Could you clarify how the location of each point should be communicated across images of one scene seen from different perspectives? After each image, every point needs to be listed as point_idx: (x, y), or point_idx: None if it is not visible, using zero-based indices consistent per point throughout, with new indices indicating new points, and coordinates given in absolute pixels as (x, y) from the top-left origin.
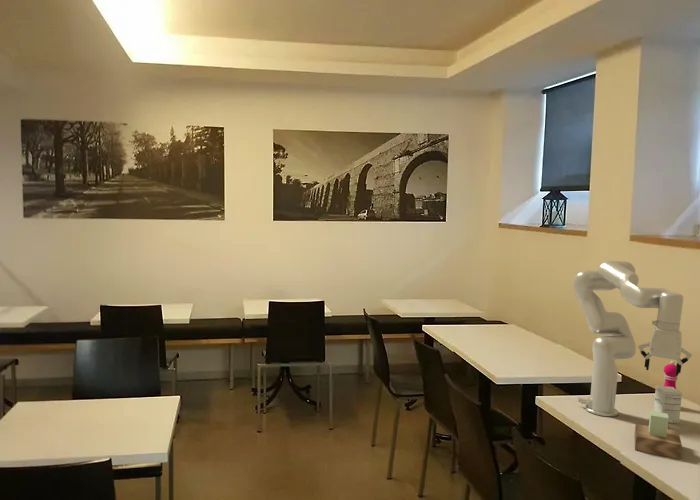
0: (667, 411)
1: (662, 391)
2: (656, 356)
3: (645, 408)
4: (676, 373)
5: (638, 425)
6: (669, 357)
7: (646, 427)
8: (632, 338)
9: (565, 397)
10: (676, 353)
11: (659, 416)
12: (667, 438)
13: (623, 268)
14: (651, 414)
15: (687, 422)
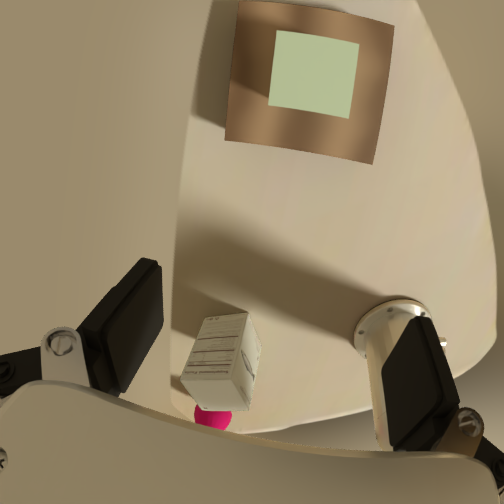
0: (228, 334)
1: (236, 383)
2: (403, 452)
3: (269, 378)
4: (149, 271)
5: (366, 146)
6: (166, 434)
7: (339, 134)
8: None
9: None
10: (12, 469)
11: (319, 40)
12: None
13: None
14: (355, 57)
15: (185, 325)
